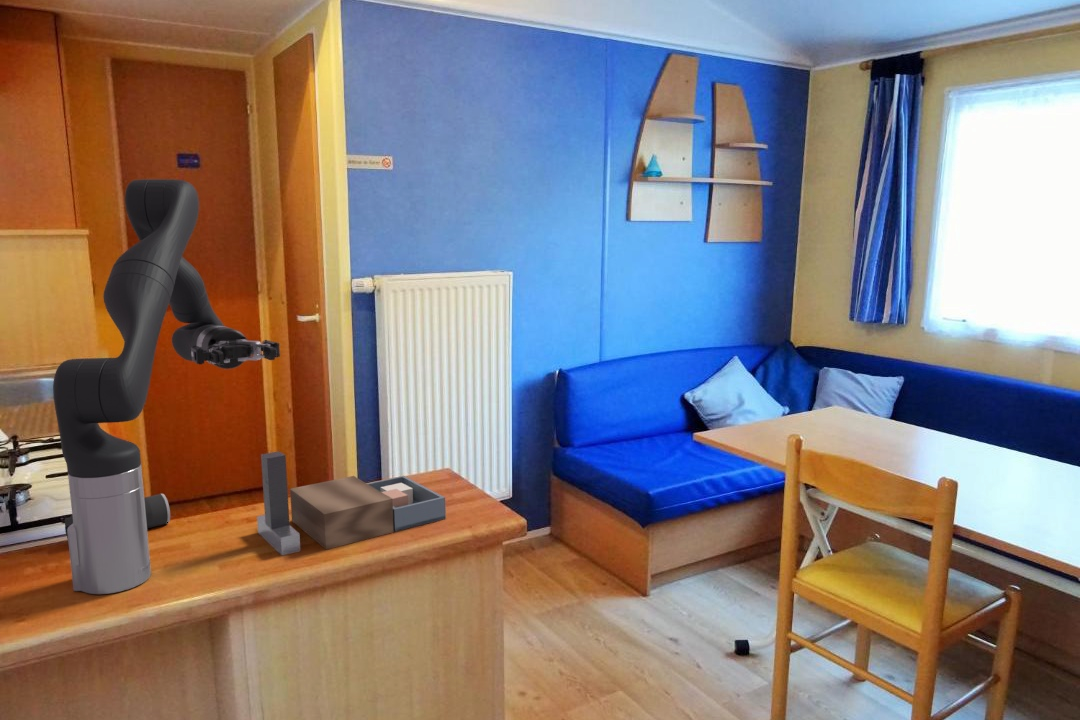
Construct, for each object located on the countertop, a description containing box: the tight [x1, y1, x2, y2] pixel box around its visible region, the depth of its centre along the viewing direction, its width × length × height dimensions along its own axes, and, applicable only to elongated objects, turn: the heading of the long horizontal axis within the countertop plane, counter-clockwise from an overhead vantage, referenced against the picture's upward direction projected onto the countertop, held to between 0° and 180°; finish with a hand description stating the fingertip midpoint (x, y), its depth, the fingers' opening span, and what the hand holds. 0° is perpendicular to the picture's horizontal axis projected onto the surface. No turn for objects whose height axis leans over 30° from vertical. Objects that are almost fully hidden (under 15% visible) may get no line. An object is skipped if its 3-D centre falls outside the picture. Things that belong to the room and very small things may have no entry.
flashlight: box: [64, 493, 171, 540], centre depth 130 cm, size 15×5×5 cm, turn 134°
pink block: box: [382, 489, 408, 508], centre depth 135 cm, size 4×4×3 cm
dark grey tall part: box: [256, 451, 301, 556], centre depth 125 cm, size 3×12×15 cm, turn 37°
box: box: [367, 475, 447, 532], centre depth 139 cm, size 10×16×4 cm, turn 37°
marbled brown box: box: [289, 475, 395, 550], centre depth 132 cm, size 12×16×6 cm
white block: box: [381, 483, 413, 505], centre depth 142 cm, size 4×4×3 cm
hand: (247, 356), depth 130 cm, fingers open, 8 cm apart
